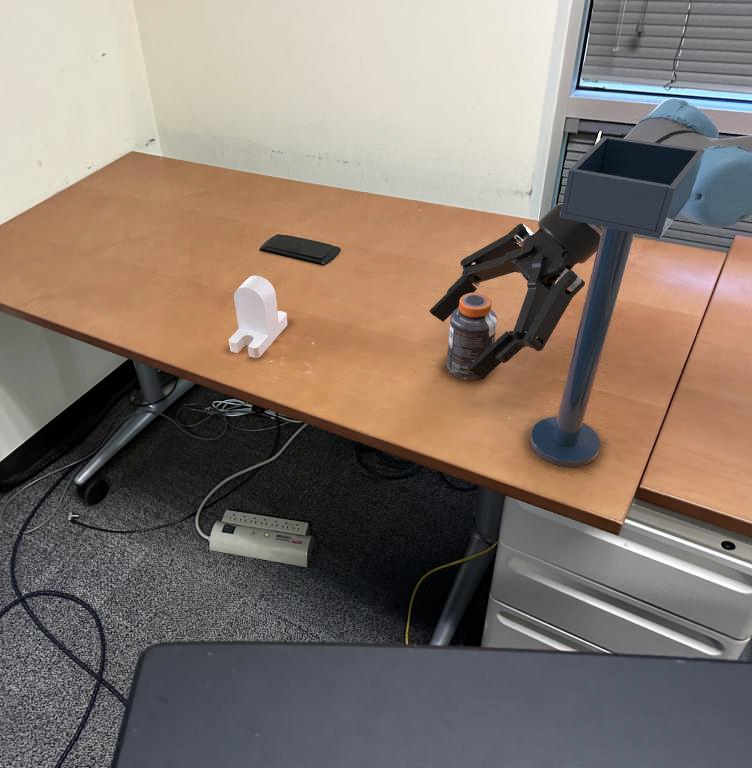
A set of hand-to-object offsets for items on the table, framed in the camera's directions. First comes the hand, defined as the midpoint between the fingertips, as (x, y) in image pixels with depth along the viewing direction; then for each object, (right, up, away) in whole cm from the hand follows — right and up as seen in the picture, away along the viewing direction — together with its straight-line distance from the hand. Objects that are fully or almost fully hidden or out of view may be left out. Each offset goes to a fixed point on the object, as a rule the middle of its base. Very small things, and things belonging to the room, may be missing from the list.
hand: (454, 343), depth 93 cm
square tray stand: (+10, -13, -10) cm, 19 cm away
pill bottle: (+3, -3, +3) cm, 6 cm away
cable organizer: (-26, +2, +15) cm, 30 cm away
